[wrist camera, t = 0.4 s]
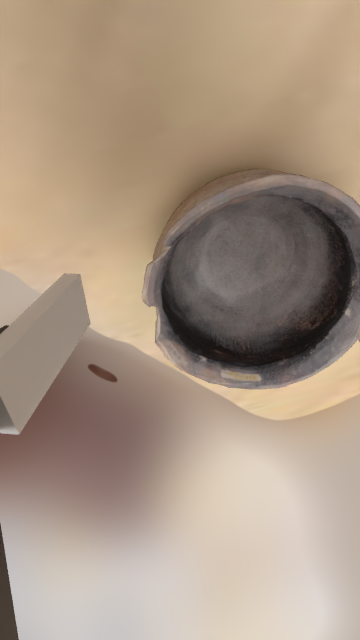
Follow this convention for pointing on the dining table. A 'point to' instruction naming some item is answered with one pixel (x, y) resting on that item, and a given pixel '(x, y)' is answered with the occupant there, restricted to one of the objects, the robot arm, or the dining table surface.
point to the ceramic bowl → (257, 280)
